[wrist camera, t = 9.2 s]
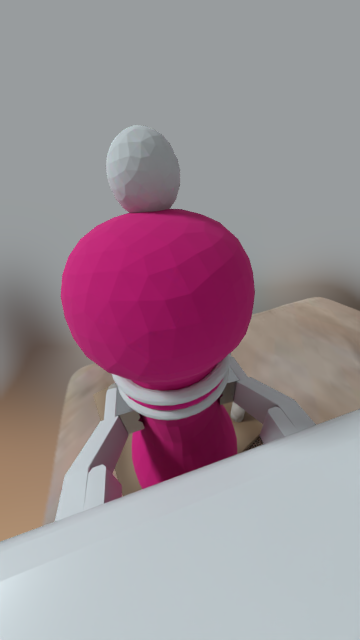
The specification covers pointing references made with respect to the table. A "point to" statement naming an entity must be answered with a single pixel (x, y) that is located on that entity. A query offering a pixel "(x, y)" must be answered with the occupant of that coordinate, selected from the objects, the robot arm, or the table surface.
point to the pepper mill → (161, 309)
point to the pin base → (242, 422)
